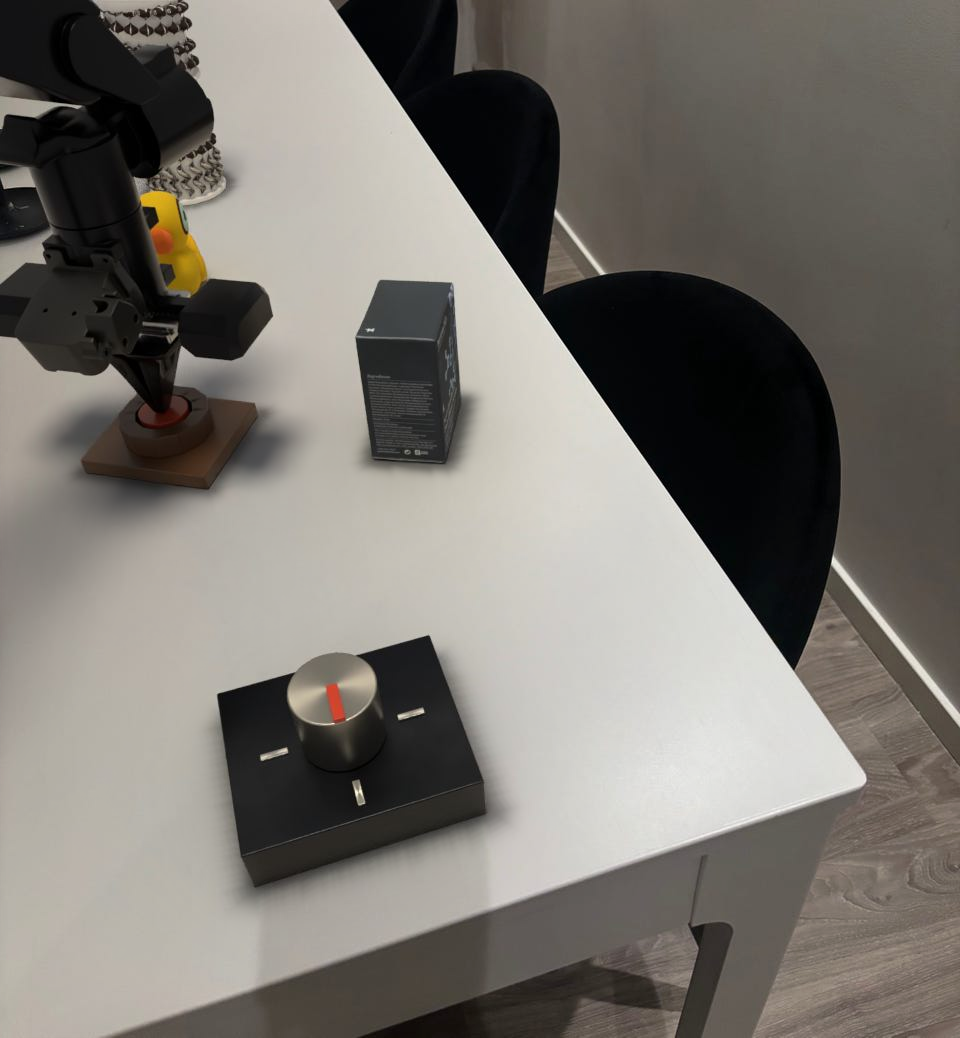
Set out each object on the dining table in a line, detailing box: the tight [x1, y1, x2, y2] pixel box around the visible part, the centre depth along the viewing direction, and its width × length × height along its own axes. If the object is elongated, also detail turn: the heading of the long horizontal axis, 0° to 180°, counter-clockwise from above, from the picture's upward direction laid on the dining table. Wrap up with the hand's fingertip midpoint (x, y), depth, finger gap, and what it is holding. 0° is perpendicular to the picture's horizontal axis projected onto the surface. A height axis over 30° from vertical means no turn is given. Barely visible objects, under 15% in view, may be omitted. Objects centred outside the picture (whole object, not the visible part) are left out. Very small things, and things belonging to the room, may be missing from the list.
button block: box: [80, 384, 259, 490], centre depth 72 cm, size 10×9×3 cm
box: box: [354, 279, 462, 464], centre depth 70 cm, size 8×6×11 cm
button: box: [138, 395, 190, 429], centre depth 72 cm, size 4×4×2 cm
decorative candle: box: [94, 0, 227, 207], centre depth 99 cm, size 9×9×25 cm
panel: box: [216, 634, 487, 887], centre depth 51 cm, size 12×10×3 cm
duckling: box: [139, 191, 208, 297], centre depth 87 cm, size 11×5×10 cm, turn 14°
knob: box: [287, 652, 386, 771], centre depth 48 cm, size 4×4×4 cm
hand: (162, 409), depth 71 cm, fingers closed, pressing on button
